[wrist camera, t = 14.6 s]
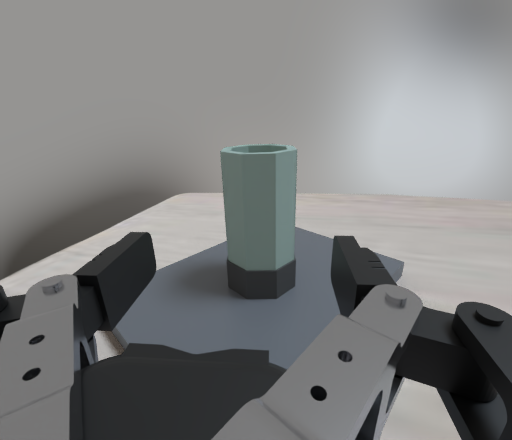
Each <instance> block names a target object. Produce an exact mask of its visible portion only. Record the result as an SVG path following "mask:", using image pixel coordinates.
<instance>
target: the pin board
mask: <svg viewBox="0 0 512 440" xmlns="http://www.w3.org/2000/svg"><path fill="white" fill-rule="evenodd" d="M332 249H333V239H331V238H328V237H325V236H322V235H319V234H316V233H313V232H310V231H307V230H304V229H300V228H297V227H295V245H294V254H295V258H296V276H295V287H293V288H292V289H290V290H289V291H288V292H286V293H285V294H283V295H282V296H280V297H279V298H277V299H246V298H244V297H243V296H241V295H240V294H238V293H237V292H235V291H234V290H232V289H230V288H229V287H228V275H227V262H226V261H227V257H228V249H227V241H225V242H223V243H221V244H218V245H216V246H214V247H211V248H209V249H207V250H204V251H202V252H200V253H197V254H195V255H192V256H190V257H188V258H185V259H183V260H181V261H178V262H176V263H174V264H171V265H169V266H166V267H164V268H162V269H159V270H157V271H156V272H155V275H154V277H153V279H152V280H151V281H150V283H149V284H148V285H147V287H146V288H145V289H144V290H143V292H142V293H141V294H140V296H139V297H138V298H137V299H136V301H135V302H134V303H133V305H132V306H131V307H130V308H129V310H128V311H127V312H126V314H125V315H124V316H123V317H122V319H121V320H120V321H119V323H118V324H117V325H116V327H115V328H114V329H113V330H112V333H113V334H114V335H115V337H116V338H117V340H118V341H119V343H120V344H121V345H122V347H123V348H124V350H125V349H126V348H127V346H128V344H129V343H140V344H159V345H165V346H169V347H172V348H175V349H178V350H182V351H185V352H188V353H192V354H201V353H208V352H214V351H221V350H227V349H233V348H234V349H253V350H269V362H270V363H273V364H276V365H278V366H280V367H283V368H285V369H288V368H289V367H290V366H291V365H292V364H293V363H294V362H295V361H296V360H297V358H298V357H299V356H300V355H301V354H302V353H303V352H304V351H305V350H306V348H307V347H308V346H309V345H310V344H311V343H312V342H313V341H314V340H315V338H316V337H317V336H318V335H319V334H320V333H321V332H322V331H323V330H324V329H325V327H326V326H327V325H328V324H329V323H330V322H331V321H332V320H333V319H334V317H335V316H337V315H338V314H340V310H339V307H338V304H337V300H336V297H335V293H334V290H333V286H332V283H331V260H332ZM374 253H375V252H374ZM375 254H377V256H378V257H379V259H380V260H381V263H383V265H384V266H385V269H387V271H388V272H389V274H390V275H391V277H392V278H393V280H394V281H395V283H396V282H397V280H398V279H399V278H400V277H401V276H402V271H403V266H404V262H402V261H399V260H396V259H393V258H390V257H387V256H384V255H381V254H378V253H375Z"/></svg>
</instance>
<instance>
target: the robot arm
mask: <svg viewBox="0 0 512 440" xmlns="http://www.w3.org/2000/svg"><path fill="white" fill-rule="evenodd" d="M155 272H156V260H155V255H154V249H153V243H152V238H151V235H150V234H149V233H148V232H130V233H129V234H127V235H126V236H125V237H124V238H122V239H121V240H120V241H119V242H117V243H116V244H114V245H112V246H110V247H108V248H106V249H105V250H104V251H102V252H101V253H100V254H99V255H97V256H96V257H95V258H93V259H92V261H89V262H88V263H87V264H86V265H84V266H83V267H82V268H80V269H79V270H78V271H77V272H75V273H74V274H73V275H67V274H65V275H58V276H53V277H50V278H47V279H44V280H42V281H40V282H38V283H36V284H35V285H33V286H32V287H31V288H30V289H29V290H28V291H27V293H26V294H25V295H18V296H12V297H7V296H6V294H5V292H4V289H3V287H2V286H1V285H0V440H380V437H381V434H382V431H383V428H384V425H385V423H386V421H387V418H388V416H389V414H390V411H391V409H392V407H393V405H394V402H395V400H396V398H397V396H398V393H399V391H400V389H401V387H402V384H403V382H404V380H405V378H408V379H411V380H414V381H417V382H420V383H423V384H426V385H429V386H432V387H435V388H437V391H438V393H439V395H440V397H441V399H442V401H443V403H444V405H445V407H446V409H447V411H448V413H449V415H450V417H451V419H452V421H453V423H454V425H455V427H456V429H457V431H458V433H459V435H460V437H461V439H462V440H512V316H511V315H510V314H508V313H506V312H504V311H502V310H500V309H498V308H496V307H493V306H490V305H487V304H483V303H478V302H464V303H461V304H459V305H458V306H457V308H456V312H455V314H451V313H446V312H442V311H437V310H433V309H429V308H426V307H423V303H422V301H421V299H420V298H419V297H418V296H417V295H416V294H415V293H413V292H412V291H410V290H408V289H406V288H403V287H400V286H397V284H396V283H395V281H394V280H393V278H392V277H391V275H390V274H389V272H388V271H387V269H385V266H384V265H383V263H381V260H380V259H379V257H378V256H377V254H375V253H374V252H372V251H371V250H369V249H368V248H360V246H359V245H358V243H357V241H356V240H355V238H354V236H334V239H333V249H332V260H331V283H332V286H333V290H334V293H335V297H336V300H337V304H338V307H339V310H340V314H338V315H337V316H335V317H334V319H333V320H332V321H331V322H330V323H329V324H328V325H327V326H326V327H325V329H324V330H323V331H322V332H321V333H320V334H319V335H318V336H317V337H316V338H315V340H314V341H313V342H312V343H311V344H310V345H309V346H308V347H307V348H306V350H305V351H304V352H303V353H302V354H301V355H300V356H299V357H298V358H297V360H296V361H295V362H294V363H293V364H292V365H291V366H290V367H289V368H288V369H285V368H283V367H280V366H278V365H276V364H273V363H270V362H269V350H253V349H234V348H233V349H227V350H221V351H214V352H208V353H201V354H192V353H188V352H185V351H182V350H178V349H175V348H172V347H169V346H165V345H159V344H140V343H129V344H128V346H127V348H126V349H125V351H124V352H123V354H122V355H117V356H113V357H109V358H107V359H104V360H101V361H98V355H97V346H96V339H95V336H94V333H95V332H96V331H97V330H100V331H112V330H113V329H114V328H115V327H116V325H117V324H118V323H119V321H120V320H121V319H122V317H123V316H124V315H125V314H126V312H127V311H128V310H129V308H130V307H131V306H132V305H133V303H134V302H135V301H136V299H137V298H138V297H139V296H140V294H141V293H142V292H143V290H144V289H145V288H146V287H147V285H148V284H149V283H150V281H151V280H152V279H153V277H154V275H155Z"/></svg>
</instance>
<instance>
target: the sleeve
mask: <svg viewBox="0 0 512 440" xmlns="http://www.w3.org/2000/svg"><path fill="white" fill-rule="evenodd" d="M221 167H222V181H223V195H224V208H225V222H226V236H227V249H228V257H227V261H226V262H227V275H228V287H229V288H230V289H232V290H234V291H235V292H237V293H238V294H240V295H241V296H243V297H244V298H246V299H277V298H279V297H280V296H282V295H283V294H285V293H286V292H288V291H289V290H290V289H292V288H293V287H295V276H296V258H295V254H294V245H295V209H296V173H297V149H296V148H295V147H294V146H289V145H277V144H260V145H259V144H258V145H257V144H256V145H240V146H234V147H225V148H224V149H223V150H222V151H221Z"/></svg>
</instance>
